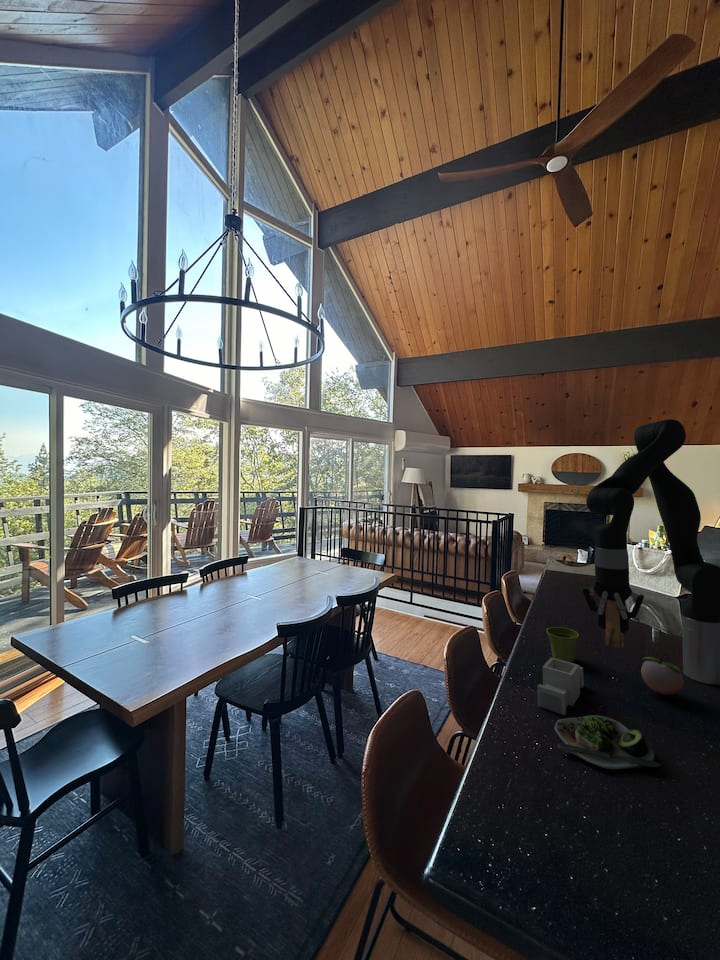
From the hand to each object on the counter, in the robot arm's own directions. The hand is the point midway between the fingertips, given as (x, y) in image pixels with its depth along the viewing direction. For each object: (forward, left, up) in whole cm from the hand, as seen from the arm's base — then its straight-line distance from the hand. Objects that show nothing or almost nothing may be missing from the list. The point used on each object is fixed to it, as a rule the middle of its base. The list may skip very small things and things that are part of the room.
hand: (613, 630), depth 104 cm
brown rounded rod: (0, 0, -4) cm, 4 cm away
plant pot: (+17, -17, -19) cm, 31 cm away
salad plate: (-2, +21, -19) cm, 28 cm away
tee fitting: (+11, +6, -19) cm, 22 cm away
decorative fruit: (-9, -11, -19) cm, 24 cm away
